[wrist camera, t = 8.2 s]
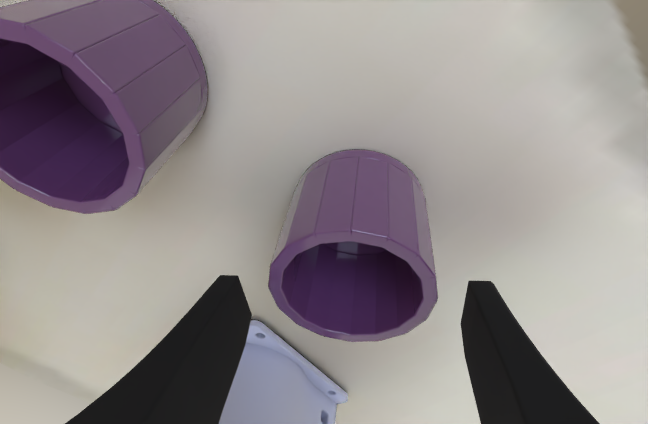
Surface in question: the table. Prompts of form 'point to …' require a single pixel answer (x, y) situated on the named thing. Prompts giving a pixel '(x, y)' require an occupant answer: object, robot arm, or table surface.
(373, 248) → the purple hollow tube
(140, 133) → the small purple cup
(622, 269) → the table surface
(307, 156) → the table surface
